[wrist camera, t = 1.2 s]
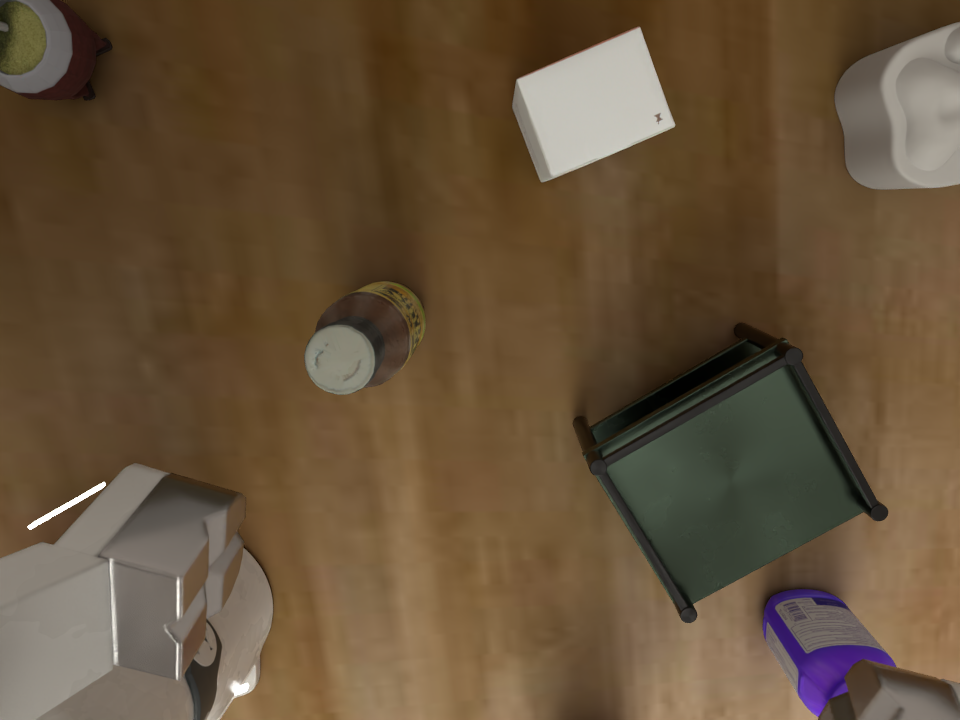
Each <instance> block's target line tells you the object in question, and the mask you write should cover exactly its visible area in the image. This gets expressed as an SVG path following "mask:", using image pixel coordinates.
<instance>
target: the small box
mask: <svg viewBox="0 0 960 720" xmlns="http://www.w3.org/2000/svg"><path fill="white" fill-rule="evenodd" d="M512 108H513V111H514V113H515V116H516V119H517V121H518V124H519V126H520V129H521V132H522V134H523V137H524V140H525V142H526V145H527V147H528V150H529V153H530V155H531V158H532V161H533V163H534V166H535V169H536V171H537V174H538V176H539V179H540V181H541V182H546V181H548V180H551V179H553V178H556V177H559V176H561V175H564V174H566V173H568V172H571V171H573V170H576V169H578V168H581V167H583V166H586V165H588V164H590V163H593V162H595V161H597V160H600V159H602V158H605V157H607V156H609V155H612V154H614V153H616V152H618V151H621V150H623V149H626V148H628V147H630V146H632V145H634V144H637V143H639V142H641V141H644V140H646V139H648V138H651V137H653V136H655V135H658V134H660V133H662V132H664V131H667V130H669V129H671V128H673V127H675V123H674V120H673V118H672V115H671V113H670V110H669V107H668V104H667V102H666V99H665V96H664V93H663V91H662V88H661V85H660V82H659V80H658V77H657V74H656V71H655V69H654V66H653V63H652V60H651V57H650V54H649V51H648V49H647V46H646V43H645V40H644V37H643V34H642V31H641V28H640V27H636V28H633V29H631V30H628V31H626V32H624V33H621V34H619V35H617V36H614V37H612V38H610V39H607V40H605V41H603V42H600V43H598V44H596V45H593V46H591V47H589V48H586V49H584V50H582V51H580V52H577V53H575V54H573V55H570V56H568V57H565V58H563V59H561V60H559V61H556V62H554V63H552V64H550V65H547V66H545V67H543V68H540V69H538V70H535V71H533V72H531V73H529V74H526V75H524V76H522V77H520V78H518V79H517V80H516V85H515V91H514V97H513V104H512Z"/></svg>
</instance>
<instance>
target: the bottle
mask: <svg viewBox="0 0 960 720" xmlns="http://www.w3.org/2000/svg"><path fill="white" fill-rule="evenodd" d="M763 631H764V637H765V640H766V642H767V644H768V646H769V648H770V649H771V651H772V653H773V654H774V656H775V658H776V659H777V661H778V663H779V664H780V666H781V668H782V669H783V671H784V673H785V674H786V676H787V678H788V679H789V681H790V682H791V684H792V686H793V687H794V689H795V691H796V692H797V694H798V696H799V697H800V699H801V700H802V701H803V703H804V704H805V705H806V707H807V708H808V709H809V710H810V711H811V712H812V713H814V714H815V715H816V716H818V717H819V715H820V714H821V712H822V710H823V709H824V707H825V705H826V704H827V702H828V700H829V699H831V698H833V697H836V696H838V695H840V694H843V693H845V692H848V688H847V685H846V682H845V678H844V677H845V675H846V674H847V672H848V671H849V669H850V668H851V667H852V665H853V664H855V663H856V662H858V661H860V660H862V659H866V660H870V661H874V662H878V663H881V664H885V665H889V666H893V667H896V665H895V663H894V662H893V660H892V658H891V657H890V656H889V655H888V654H887V653H886V651H885V650H884V649H883V648H882V647H881V646H880V644H879V643H878V642H877V641H876V640H875V639H874V637H873V636H872V635H871V634H870V633H869V632H868V630H867V629H866V628H865V627H864V626H863V625H862V623H861V622H860V621H859V620H858V619H857V618H856V616H855V615H854V614H853V613H852V612H851V611H850V609H849V608H848V607H847V606H846V604H845V603H844V602H843V601H841V600H840V599H839V598H837V597H836V596H834V595H832V594H829V593H826V592H823V591H817V590H810V589H796V590H788V591H784V592H780V593H778V594H776V595H773V596H772V597H771V598H770V599H769V601H768V603H767V605H766V607H765V610H764V618H763Z"/></svg>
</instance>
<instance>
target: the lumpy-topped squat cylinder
mask: <svg viewBox="0 0 960 720" xmlns="http://www.w3.org/2000/svg"><path fill="white" fill-rule="evenodd" d="M835 106H836V110H837V113H838V116H839V119H840V121H841V124H842V128H843V132H844V140H845V162H846V167H847V170H848V172H849V174H850V175H851V177H852V178H853V179H854V180H855V181H857V182H858V183H860V184H861V185H863V186H866V187H868V188H872V189H912V188H939V187H946V186H951V185H957V184H960V22H957V23H954V24H951V25H947V26H944V27H941V28H939V29H936V30H933V31H931V32H928V33H925V34H923V35H920V36H918V37H915V38H912V39H910V40H907V41H905V42H902V43H899V44H897V45H894V46H892V47H889V48H886V49H884V50H881V51H879V52H876V53H873V54H871V55H869V56H866V57H864V58H862V59H860V60H859V61H857V62H856V63H854V64H853V65H852V66H851V67H850V68H849V69H848V70H847V71H846V72H845V73H844V74H843V76H842V77H841V79H840V80H839V82H838V84H837V87H836V90H835Z"/></svg>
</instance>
